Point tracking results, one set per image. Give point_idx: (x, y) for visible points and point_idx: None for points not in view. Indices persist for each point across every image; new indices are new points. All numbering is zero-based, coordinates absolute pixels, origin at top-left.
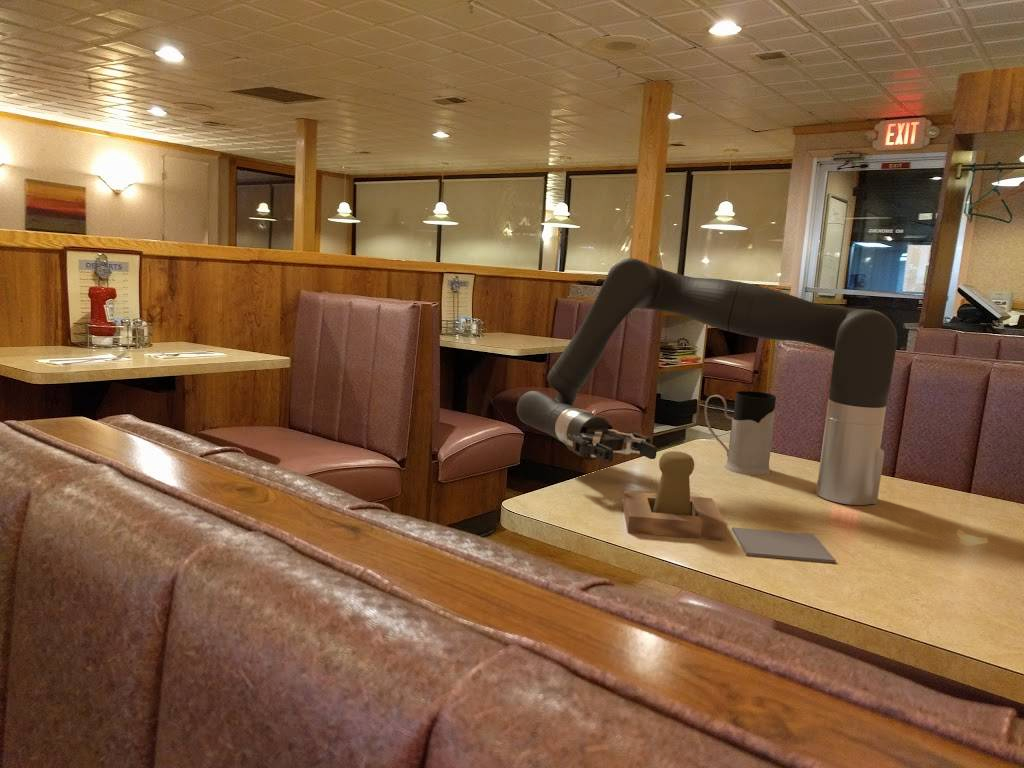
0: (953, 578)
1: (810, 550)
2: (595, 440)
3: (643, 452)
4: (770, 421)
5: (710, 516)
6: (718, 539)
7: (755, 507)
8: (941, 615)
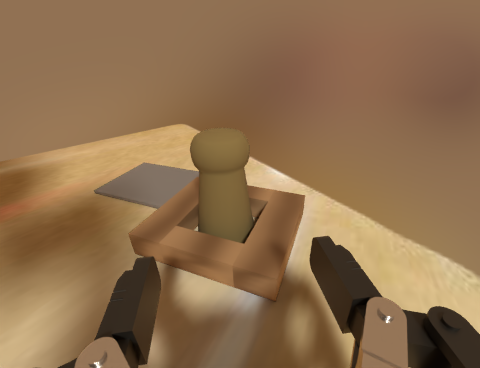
0: (93, 151)
1: (143, 171)
2: (389, 350)
3: (149, 327)
4: None
5: (197, 189)
6: None
7: (24, 268)
8: (160, 136)
